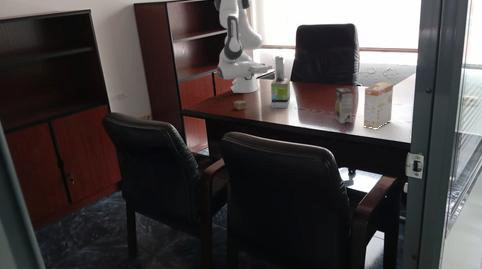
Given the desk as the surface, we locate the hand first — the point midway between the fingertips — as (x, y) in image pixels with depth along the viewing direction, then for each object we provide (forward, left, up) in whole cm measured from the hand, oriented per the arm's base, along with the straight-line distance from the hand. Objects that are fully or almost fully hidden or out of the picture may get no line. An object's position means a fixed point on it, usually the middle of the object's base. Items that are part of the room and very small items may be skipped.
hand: (268, 66), depth 231 cm
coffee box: (+44, +22, -24) cm, 55 cm away
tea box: (0, +8, -24) cm, 26 cm away
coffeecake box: (+58, +32, -24) cm, 70 cm away
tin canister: (0, +8, -10) cm, 12 cm away
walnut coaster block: (-6, -16, -24) cm, 30 cm away
